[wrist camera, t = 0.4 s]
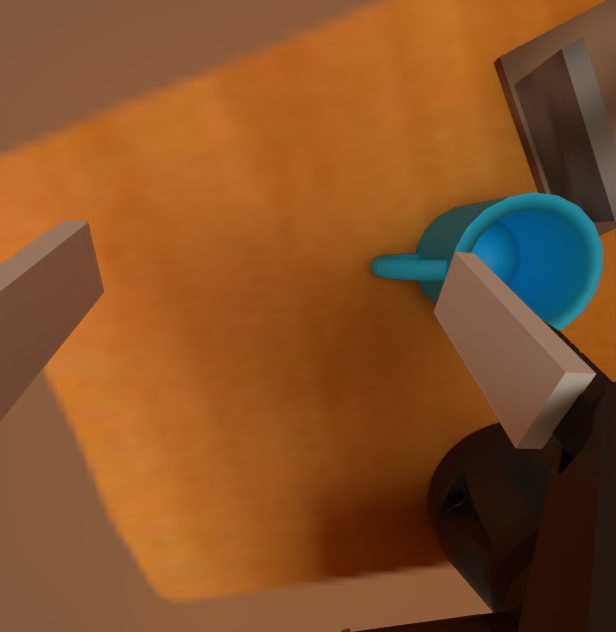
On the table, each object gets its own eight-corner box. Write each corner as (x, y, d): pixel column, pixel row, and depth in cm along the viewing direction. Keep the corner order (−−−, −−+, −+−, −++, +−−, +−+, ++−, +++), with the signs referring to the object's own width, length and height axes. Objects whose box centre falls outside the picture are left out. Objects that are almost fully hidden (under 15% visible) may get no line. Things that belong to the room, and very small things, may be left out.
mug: (528, 202, 27) (614, 189, 19) (517, 311, 29) (592, 341, 21) (364, 207, 28) (381, 196, 20) (363, 314, 29) (378, 344, 21)
